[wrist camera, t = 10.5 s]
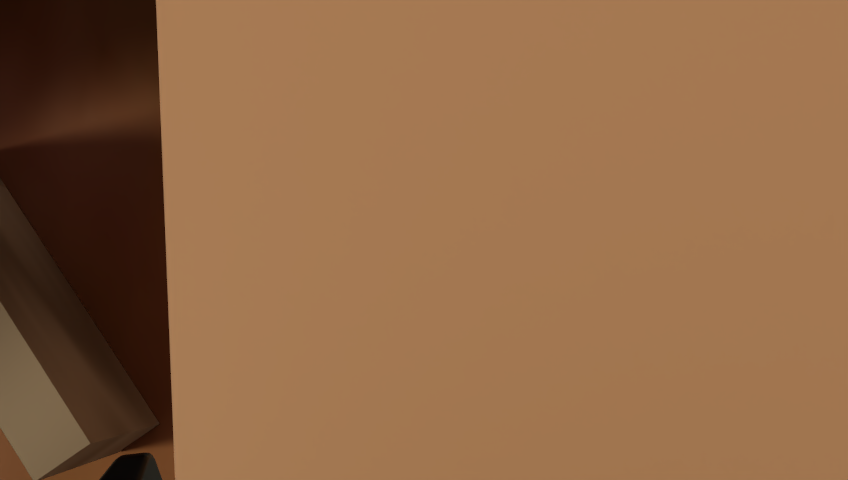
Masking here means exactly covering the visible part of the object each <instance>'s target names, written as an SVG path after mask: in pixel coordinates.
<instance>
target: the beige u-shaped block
mask: <svg viewBox="0 0 848 480" xmlns="http://www.w3.org/2000/svg"><path fill="white" fill-rule="evenodd" d="M159 424H160V423H159V422H158V420H157V419H156V417H155V416H154V414H153V413H152V411H151V410H150V408H149V406H148V405H147V403H146V402H145V400H144V399H143V397H142V396H141V394H140V393H139V391H138V390H137V388H136V386H135V385H134V383H133V382H132V380H131V379H130V377H129V376H128V374H127V373H126V371H125V369H124V368H123V366H122V365H121V363H120V362H119V360H118V359H117V357H116V356H115V354H114V353H113V351H112V349H111V348H110V346H109V345H108V343H107V342H106V340H105V339H104V337H103V336H102V334H101V333H100V331H99V329H98V328H97V326H96V325H95V323H94V322H93V320H92V319H91V317H90V316H89V314H88V313H87V311H86V309H85V308H84V306H83V305H82V303H81V302H80V300H79V299H78V297H77V296H76V294H75V293H74V291H73V289H72V288H71V286H70V285H69V283H68V282H67V280H66V279H65V277H64V276H63V274H62V272H61V271H60V269H59V268H58V266H57V265H56V263H55V262H54V260H53V259H52V257H51V256H50V254H49V252H48V251H47V249H46V248H45V246H44V245H43V243H42V242H41V240H40V239H39V237H38V236H37V234H36V232H35V231H34V229H33V228H32V226H31V225H30V223H29V222H28V220H27V219H26V217H25V216H24V214H23V212H22V211H21V209H20V208H19V206H18V205H17V203H16V202H15V200H14V199H13V197H12V196H11V194H10V192H9V191H8V189H7V188H6V186H5V185H4V183H3V182H2V180H1V179H0V428H1V429H2V431H3V433H4V434H5V436H6V437H7V439H8V441H9V442H10V444H11V445H12V447H13V449H14V450H15V452H16V453H17V455H18V457H19V458H20V460H21V461H22V463H23V465H24V466H25V468H26V470H27V471H28V473H29V474H30V476H31V478H32V479H33V480H41V479H44V478H47V477H50V476H53V475H56V474H58V473H61V472H64V471H67V470H70V469H73V468H75V467H78V466H81V465H84V464H87V463H90V462H92V461H95V460H98V459H101V458H104V457H107V456H109V455H112V454H115V453H118V452H120V451H121V450H122V449H124V448H125V447H127V446H128V445H130V444H131V443H133V442H134V441H135V440H137V439H138V438H140V437H141V436H143V435H144V434H146V433H147V432H148V431H150V430H151V429H153V428H154V427H156V426H157V425H159Z"/></svg>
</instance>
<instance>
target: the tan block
mask: <svg viewBox="0 0 848 480" xmlns="http://www.w3.org/2000/svg"><path fill="white" fill-rule="evenodd" d="M156 13H157V38H158V63H159V88H160V113H161V138H162V163H163V188H164V213H165V238H166V263H167V288H168V313H169V338H170V363H171V388H172V413H173V438H174V463H175V480H848V0H156Z"/></svg>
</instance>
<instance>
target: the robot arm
mask: <svg viewBox="0 0 848 480" xmlns="http://www.w3.org/2000/svg"><path fill="white" fill-rule="evenodd" d="M99 480H162V478H161V475H160V472H159V470H158V467H157V464H156V461H155V459H154V457H153V456H152V455H151V454H150V453H137V454H128V455H122V456H120V457H119V458H117V459H116V460H115V461H114V462H113V463H112V465H111V466H110V467H109V468H108V470H107V471H106V472H105V473H104V474H103V476H102V477H101V478H100V479H99Z"/></svg>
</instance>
